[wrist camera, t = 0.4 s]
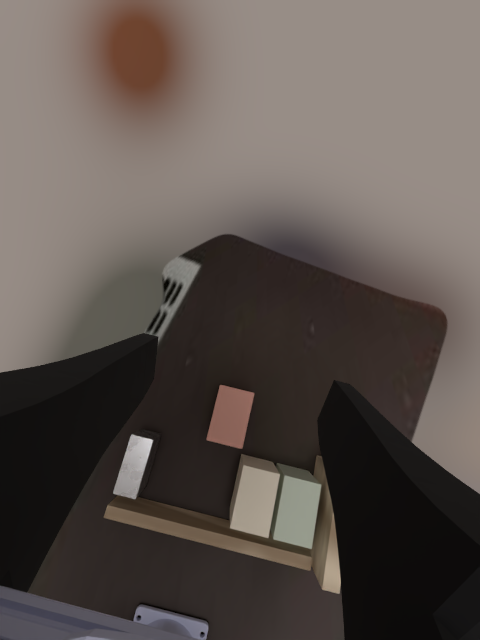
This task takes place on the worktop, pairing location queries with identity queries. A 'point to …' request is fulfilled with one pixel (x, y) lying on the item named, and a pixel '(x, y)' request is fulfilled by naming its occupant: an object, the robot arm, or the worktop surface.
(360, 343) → the worktop surface
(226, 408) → the pink rectangular block
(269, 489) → the cream rectangular block
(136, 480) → the grey rectangular block
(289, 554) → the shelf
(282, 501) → the pale green block
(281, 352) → the worktop surface
